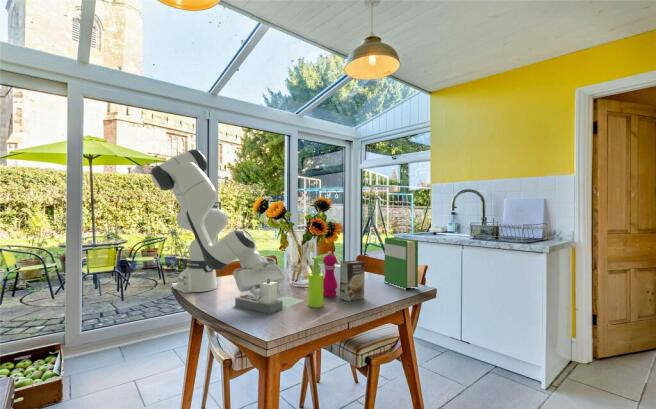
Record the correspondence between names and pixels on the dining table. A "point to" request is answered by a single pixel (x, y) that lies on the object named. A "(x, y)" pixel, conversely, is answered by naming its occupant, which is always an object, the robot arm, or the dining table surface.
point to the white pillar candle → (268, 292)
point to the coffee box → (352, 280)
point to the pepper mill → (329, 276)
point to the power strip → (257, 304)
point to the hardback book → (401, 262)
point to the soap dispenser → (315, 285)
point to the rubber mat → (289, 301)
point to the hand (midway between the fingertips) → (269, 295)
